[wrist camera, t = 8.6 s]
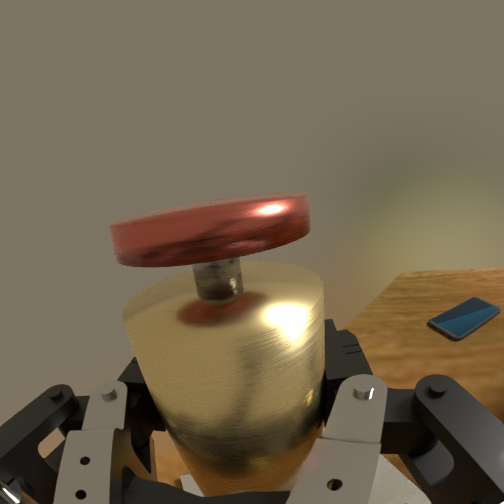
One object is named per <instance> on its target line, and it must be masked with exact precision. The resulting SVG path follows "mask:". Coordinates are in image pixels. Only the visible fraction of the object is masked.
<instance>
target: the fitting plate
mask: <svg viewBox="0 0 504 504" xmlns="http://www.w3.org/2000/svg"><path fill="white" fill-rule="evenodd" d="M324 430H325V427H324V428H323V432H324ZM180 478H181V482H182V486H183V490H184V491H187V492H189V493H192V494H195V495H198V496H201V497H204V495H203V494H202V492H201V490H200V489H199V487H198V486H197V484H196V482H195V481H194V479H193V477H192V476H191V474H188V475H183V476H180ZM368 504H431V502H430V500H429V499H428V497H427V496H426V495H425V493H423V492H422V491H421V490H420V489H419V488H418V487H417V486H415V485H414V484H413V483H412V482H411V481H410V480H409V479H407V478H406V477H405V476H404V475H403V474H402V473H401V472H400V471H399V470H398V469H396V468H395V467H394V466H393V465H392V464H391V463H390V462H389V461H388V460H387V459H386V458H385V457H383V456H382V455H381V454H379V459H378V464H377V469H376V473H375V477H374V481H373V485H372V489H371V493H370V497H369V500H368Z"/></svg>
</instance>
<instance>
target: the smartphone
mask: <svg viewBox="0 0 504 504" xmlns="http://www.w3.org/2000/svg"><path fill="white" fill-rule="evenodd" d="M499 313H500V308H499V307H497V306H495V305H493V304H491V303H489V302H487V301H484V300H482V299H480V298H477V297H472V298H470V299H469V300H467V301H465V302H463V303H461V304H459V305H458V306H456V307H454V308H452V309H450V310H448V311H446V312H444V313H442V314H440V315H438V316H436V317H434V318H432V319H430V320H429V325H430V326H431V327H432V326H433V327H434V328H436V330H437V331H440V332H441V333H443V334H444V335H446V336H447V337H451V339H452V340H455V341H460V340H462V339H464V338H465V337H467V336H468V335H470V334H471V333H472V332H474V331H475V330H477V329H478V328H480V327H481V326H483V325H484V324H485V323H487V322H488V321H489V320H491V319H492V318H494V317H495V316H496V315H497V314H499Z"/></svg>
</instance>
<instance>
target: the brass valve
mask: <svg viewBox="0 0 504 504" xmlns="http://www.w3.org/2000/svg"><path fill="white" fill-rule="evenodd" d="M109 229H110V234H111V239H112V244H113V249H114V253H115V258H116V261H117V262H118V263H120V264H122V265H126V266H132V267H171V266H181V265H190V264H192V268H193V270H191V271H187V272H183V273H180V274H177V275H174V276H171V277H168V278H165V279H163V280H161V281H158V282H156V283H154V284H152V285H150V286H148V287H146V288H145V289H143V290H141V291H140V292H138V293H137V294H136V295H135V296H133V297H132V298H131V299H130V300H129V301H128V302H127V304H126V306H125V307H124V310H123V320H124V323H125V327H126V330H127V333H128V336H129V339H130V342H131V345H132V348H133V350H134V353H135V356H136V359H137V361H138V364H139V367H140V369H141V372H142V374H143V377H144V379H145V382H146V384H147V387H148V389H149V392H150V394H151V396H152V399H153V401H154V403H155V406H156V408H157V410H158V412H159V414H160V417H161V419H162V421H163V423H164V425H165V427H166V429H167V431H168V433H169V435H170V437H171V439H172V441H173V443H174V445H175V447H176V449H177V451H178V453H179V454H180V456H181V458H182V460H183V462H184V463H185V465H186V467H187V469H188V470H189V472H190V474H191V476H192V477H193V479H194V481H195V482H196V484H197V486H198V487H199V489H200V490H201V492H202V494H203V495H204V497H212V496H221V495H228V494H235V493H242V492H268V491H290V494H291V492H292V490H293V488H294V486H295V484H296V482H297V480H298V478H299V476H300V474H301V472H302V469H303V467H304V465H305V463H306V461H307V458H308V456H309V454H310V452H311V449H312V447H313V445H314V442H315V440H316V439H317V437H318V436H321V437H322V435H323V416H324V382H325V325H324V293H323V283H322V280H321V279H320V277H319V276H318V275H317V274H316V273H314V272H312V271H311V270H309V269H307V268H304V267H301V266H297V265H293V264H288V263H280V262H263V261H257V262H240V260H239V257H240V256H245V255H249V254H254V253H258V252H262V251H265V250H269V249H273V248H276V247H279V246H283V245H286V244H288V243H291V242H293V241H296V240H298V239H300V238H302V237H304V236H305V235H307V234H308V233H309V232H310V230H311V224H310V213H309V203H308V194H307V193H278V194H265V195H255V196H245V197H237V198H229V199H222V200H215V201H209V202H201V203H196V204H190V205H184V206H179V207H173V208H168V209H163V210H158V211H153V212H149V213H145V214H140V215H137V216H133V217H129V218H125V219H122V220H118V221H115V222H113V223H111V224H109Z"/></svg>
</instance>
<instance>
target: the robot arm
mask: <svg viewBox="0 0 504 504" xmlns="http://www.w3.org/2000/svg"><path fill="white" fill-rule="evenodd" d="M324 325H325V382H324V416H323V420H324V426H325V430H324V432H323V435H322V437H321V436H318V437H317V439H316V440H315V442H314V445H313V447H312V449H311V452H310V454H309V456H308V458H307V461H306V463H305V465H304V467H303V469H302V472H301V474H300V476H299V478H298V480H297V482H296V484H295V486H294V488H293V490H292V492H291V494H290V491H268V492H242V493H235V494H228V495H221V496H212V497H201V496H198V495H195V494H192V493H189V492H187V491H184V490H181V489H179V488H176V487H174V486H171V485H169V484H166V483H161V482H158V481H157V474H156V462H155V450H154V440H153V438H152V436H151V434H152V432H153V430H156V431H164V432H165V431H166V427H165V425H164V423H163V421H162V419H161V417H160V414H159V412H158V410H157V408H156V406H155V403H154V401H153V399H152V396H151V394H150V392H149V389H148V387H147V384H146V382H145V379H144V377H143V374H142V372H141V369H140V367H139V364H138V361H137V359H136V357H134V358H133V359H132V361H131V363H129V365H128V366H127V367H126V369H125V370H124V372H123V373H122V374H121V376H120V377H119V378H118V380H117V381H107V382H104V383H102V384H100V385H98V386H96V387H95V388H94V389H93V390H92V392H91V394H90V396H75V394H74V393H73V391H72V389H71V387H70V386H68V385H63V384H61V385H55V386H53V387H51V388H49V389H47V390H46V391H45V392H44V393H42V394H41V395H40V396H38V397H37V398H36V399H35V400H33V401H32V402H31V403H29V404H28V405H27V406H26V407H24V408H23V409H22V410H21V411H19V412H18V413H17V414H15V415H14V416H13V417H12V418H10V419H9V420H8V421H7V422H5V423H4V424H3V425H2V426H0V504H368V500H369V497H370V493H371V489H372V485H373V481H374V477H375V473H376V469H377V464H378V459H379V454H398V455H399V457H400V458H401V460H402V461H403V463H404V464H405V465H406V467H407V468H408V470H409V471H410V473H411V474H412V476H413V477H414V479H415V480H416V481H417V483H418V484H419V486H420V487H421V489H422V490H423V492H424V493H425V495H426V496H427V497H428V499H429V500H430V502H431V503H432V504H504V424H503V423H502V422H501V421H500V420H499V419H498V418H497V417H495V416H494V415H493V414H492V413H491V412H490V411H489V410H488V409H487V408H485V407H484V406H483V405H482V404H481V403H480V402H479V401H478V400H476V399H475V398H474V397H473V396H472V395H471V394H470V393H468V392H467V391H466V390H465V389H464V388H463V387H462V386H460V385H459V384H458V383H457V382H456V381H455V380H453V379H452V378H450V377H448V376H445V375H439V374H437V375H429V376H426V377H424V378H422V379H421V380H420V381H419V382H418V383H417V385H416V387H415V389H392V388H388V387H387V385H386V383H385V382H384V381H383V380H382V379H380V378H379V377H376V376H374V375H373V373H372V371H371V369H370V366H369V364H368V362H367V360H366V358H365V355H364V353H363V352H362V349H361V347H360V345H359V342H358V340H357V338H356V336H355V335H354V334H352V333H351V332H349V331H348V330H340V331H337V330H336V328H335V325H334V322H333V320H332V319H327V320H324ZM57 427H58V429H59V430H60V432H61V433H62V434H63V436H64V437H65V440H64V441H63V442H62V443H61V444H60V445H59V446H58V447H57V448H55V449H54V450H53V451H52V452H51V453H50V454H49V455H48V456H47V457H46V458H42V457H41V455H40V454H39V452H38V445H39V443H40V442H41V441H42V440H43V439H45V438H46V437H47V436H48V435H49V434H50V433H51V432H52V431H53V430H54V429H56V428H57Z"/></svg>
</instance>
